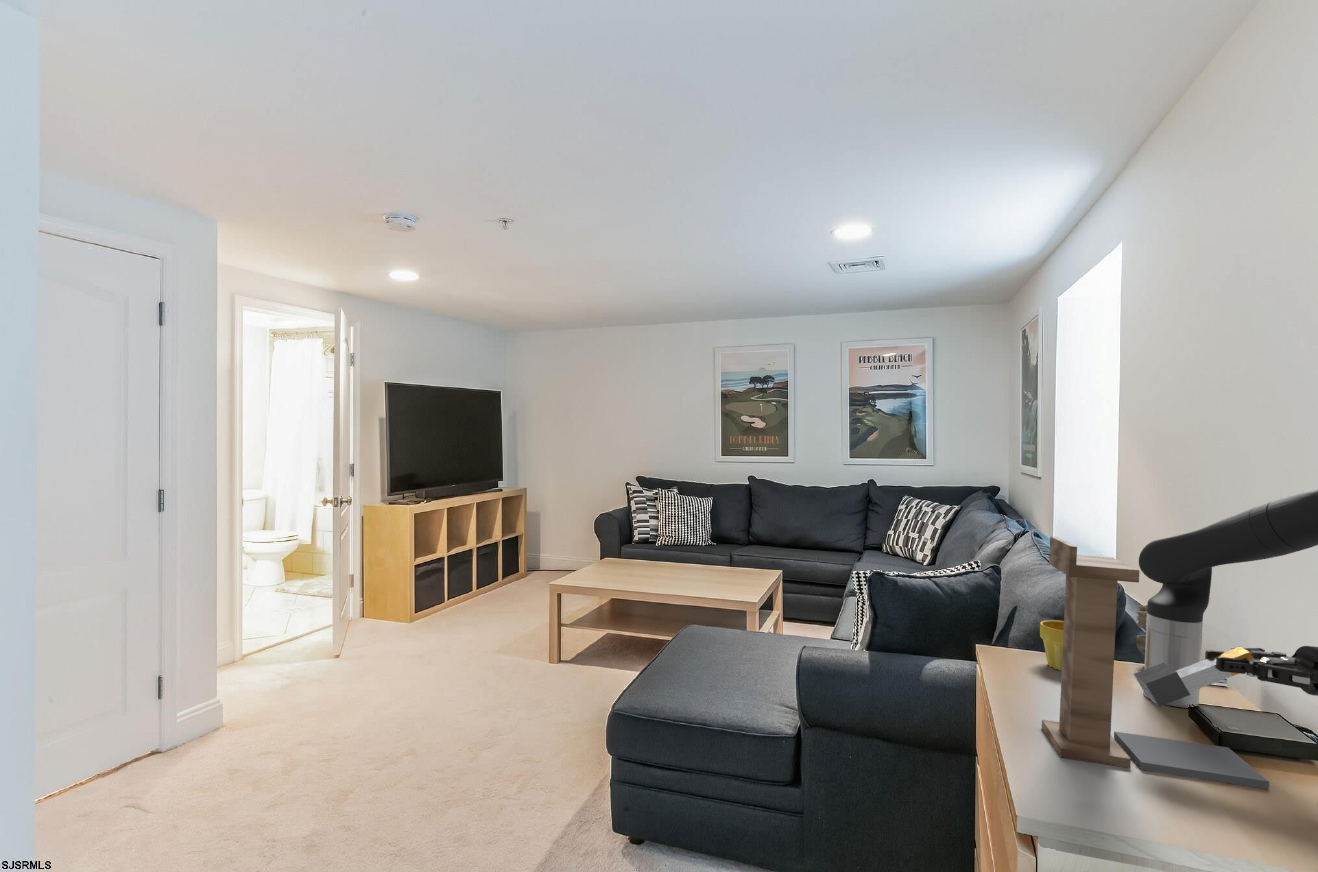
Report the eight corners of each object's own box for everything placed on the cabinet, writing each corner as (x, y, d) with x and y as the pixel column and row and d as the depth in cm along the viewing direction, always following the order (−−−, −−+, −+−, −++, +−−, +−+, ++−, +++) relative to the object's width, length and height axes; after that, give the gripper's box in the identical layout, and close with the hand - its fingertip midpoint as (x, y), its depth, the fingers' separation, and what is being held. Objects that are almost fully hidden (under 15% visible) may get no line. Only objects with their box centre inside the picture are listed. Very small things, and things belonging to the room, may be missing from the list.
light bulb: (1168, 673, 158) (1171, 608, 158) (1141, 670, 159) (1144, 606, 159) (1155, 665, 163) (1158, 602, 163) (1130, 662, 164) (1132, 600, 164)
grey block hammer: (1146, 695, 117) (1133, 674, 117) (1244, 658, 113) (1231, 636, 113) (1159, 706, 112) (1145, 683, 112) (1262, 668, 108) (1247, 645, 109)
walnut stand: (1041, 727, 124) (1050, 536, 124) (1104, 736, 121) (1113, 540, 121) (1060, 757, 113) (1070, 546, 112) (1130, 768, 110) (1140, 551, 110)
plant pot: (1031, 665, 159) (1033, 624, 159) (1046, 657, 166) (1048, 617, 166) (1081, 679, 151) (1083, 635, 151) (1095, 669, 159) (1097, 627, 158)
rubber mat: (1113, 738, 121) (1114, 731, 121) (1227, 754, 116) (1228, 747, 116) (1141, 769, 110) (1141, 762, 110) (1268, 789, 105) (1269, 781, 105)
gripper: (1313, 637, 114) (1191, 626, 119) (1375, 663, 100) (1235, 649, 105) (1312, 682, 114) (1190, 669, 119) (1373, 714, 100) (1233, 698, 105)
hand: (1212, 660), depth 112 cm, fingers closed on grey block hammer, 3 cm apart
